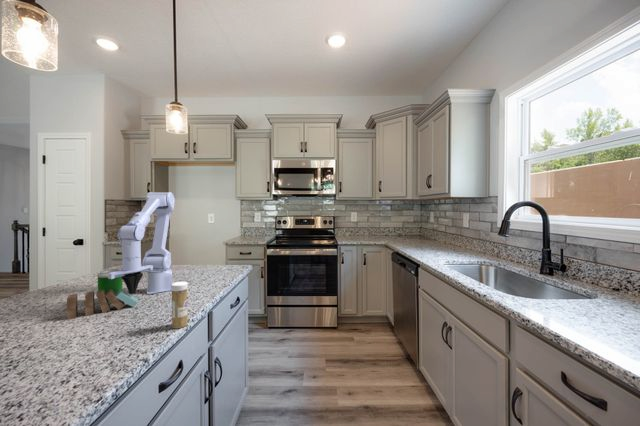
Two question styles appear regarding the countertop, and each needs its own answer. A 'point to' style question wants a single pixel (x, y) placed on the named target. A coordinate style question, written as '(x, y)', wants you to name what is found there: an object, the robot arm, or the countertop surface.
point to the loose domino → (127, 298)
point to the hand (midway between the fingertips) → (132, 293)
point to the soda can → (109, 282)
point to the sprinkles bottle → (179, 304)
